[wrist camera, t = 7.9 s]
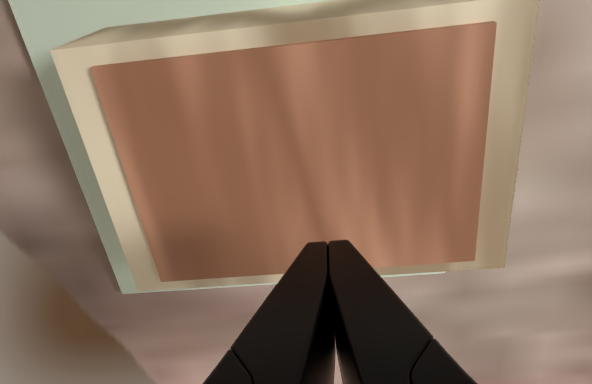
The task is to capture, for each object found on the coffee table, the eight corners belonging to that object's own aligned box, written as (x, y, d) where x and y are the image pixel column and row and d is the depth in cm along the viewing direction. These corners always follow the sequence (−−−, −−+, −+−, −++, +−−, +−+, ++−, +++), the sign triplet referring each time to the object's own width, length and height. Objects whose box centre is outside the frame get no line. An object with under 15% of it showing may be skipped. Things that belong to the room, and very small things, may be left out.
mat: (463, -135, 13) (467, -137, 12) (442, 267, 19) (445, 273, 19) (-11, -68, 14) (-19, -68, 13) (125, 288, 20) (122, 294, 20)
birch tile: (544, -7, 10) (45, 51, 11) (506, 271, 14) (136, 295, 15) (489, -19, 14) (105, 27, 15) (471, 209, 17) (167, 233, 18)
